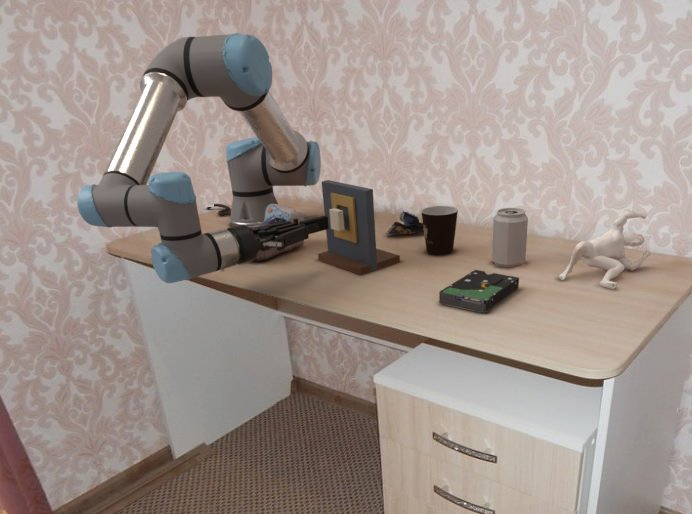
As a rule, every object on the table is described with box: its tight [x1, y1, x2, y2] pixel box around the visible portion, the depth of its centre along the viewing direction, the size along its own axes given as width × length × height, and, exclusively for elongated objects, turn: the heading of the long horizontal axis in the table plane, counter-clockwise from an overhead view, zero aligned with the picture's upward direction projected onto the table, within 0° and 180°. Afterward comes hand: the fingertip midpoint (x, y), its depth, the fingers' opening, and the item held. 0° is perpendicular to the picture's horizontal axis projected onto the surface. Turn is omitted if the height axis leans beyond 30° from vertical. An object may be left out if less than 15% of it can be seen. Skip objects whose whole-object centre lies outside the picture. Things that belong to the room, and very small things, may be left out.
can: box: [491, 207, 529, 268], centre depth 139 cm, size 8×8×12 cm
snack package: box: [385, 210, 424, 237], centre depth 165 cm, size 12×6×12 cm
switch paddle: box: [329, 208, 344, 231], centre depth 140 cm, size 1×3×4 cm, turn 42°
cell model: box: [249, 203, 306, 262], centre depth 155 cm, size 13×11×20 cm
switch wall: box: [317, 179, 401, 276], centre depth 144 cm, size 12×16×18 cm
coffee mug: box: [420, 205, 459, 257], centre depth 150 cm, size 12×9×10 cm
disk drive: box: [438, 269, 520, 313], centre depth 124 cm, size 10×3×15 cm
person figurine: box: [559, 210, 652, 290], centre depth 131 cm, size 13×13×18 cm
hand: (326, 222), depth 138 cm, fingers closed
